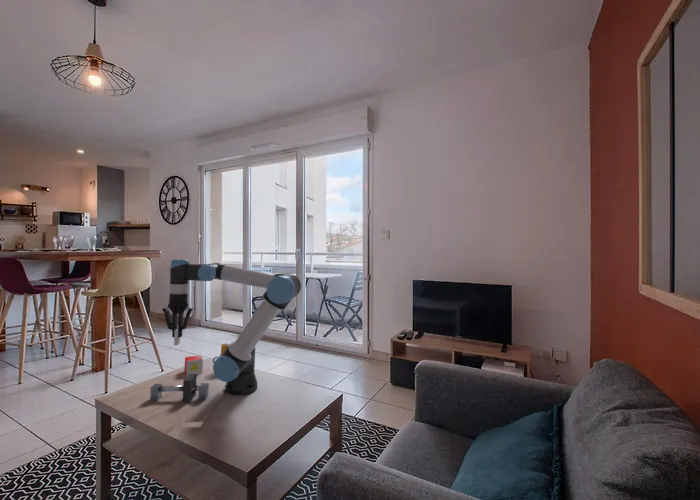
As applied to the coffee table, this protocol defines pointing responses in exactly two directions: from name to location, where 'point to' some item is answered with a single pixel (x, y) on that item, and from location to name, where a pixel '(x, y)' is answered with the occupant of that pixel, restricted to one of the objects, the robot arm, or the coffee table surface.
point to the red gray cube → (193, 365)
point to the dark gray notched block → (189, 387)
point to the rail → (158, 389)
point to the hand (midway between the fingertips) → (176, 344)
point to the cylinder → (222, 350)
